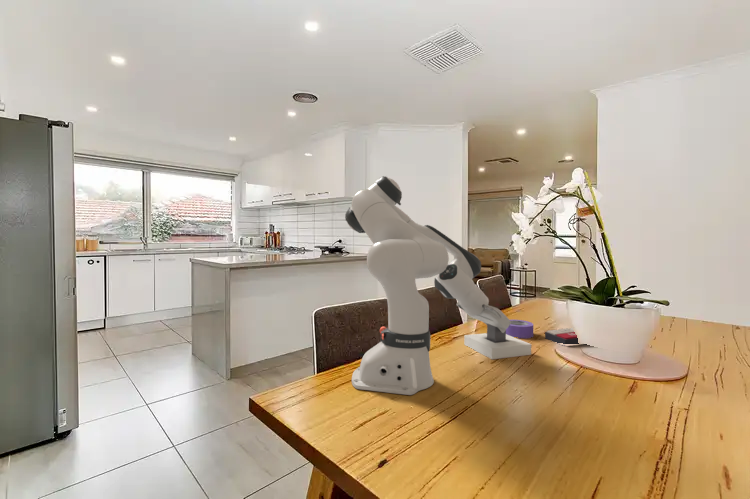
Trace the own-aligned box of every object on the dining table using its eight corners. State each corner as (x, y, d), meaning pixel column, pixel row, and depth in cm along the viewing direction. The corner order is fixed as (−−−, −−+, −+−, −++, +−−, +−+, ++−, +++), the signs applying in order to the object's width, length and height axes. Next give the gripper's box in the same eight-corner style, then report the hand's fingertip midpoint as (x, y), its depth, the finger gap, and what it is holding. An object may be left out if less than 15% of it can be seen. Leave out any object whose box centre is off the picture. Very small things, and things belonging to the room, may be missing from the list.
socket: (491, 359, 113) (492, 346, 113) (464, 344, 128) (464, 333, 128) (531, 354, 118) (531, 341, 118) (500, 341, 133) (500, 329, 133)
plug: (494, 343, 120) (495, 320, 120) (486, 339, 125) (487, 317, 124) (505, 342, 122) (506, 319, 121) (497, 338, 126) (497, 316, 126)
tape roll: (513, 339, 136) (513, 326, 136) (496, 331, 148) (497, 319, 148) (539, 338, 139) (539, 325, 139) (521, 330, 150) (521, 318, 150)
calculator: (544, 330, 138) (575, 326, 141) (544, 340, 138) (575, 336, 142) (565, 337, 127) (598, 333, 131) (565, 349, 127) (599, 344, 131)
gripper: (500, 301, 110) (524, 329, 114) (464, 291, 130) (485, 315, 133) (488, 316, 109) (512, 344, 113) (453, 303, 129) (475, 328, 132)
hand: (497, 328), depth 123 cm, fingers closed on plug, 4 cm apart
